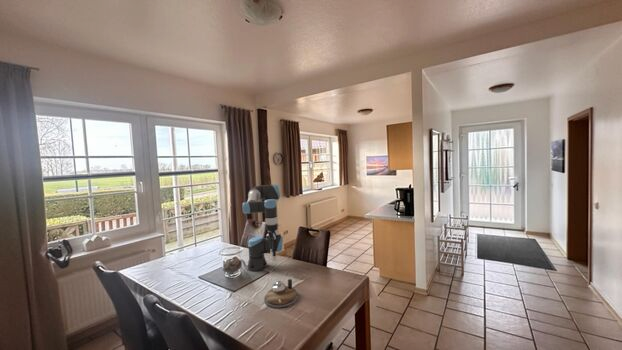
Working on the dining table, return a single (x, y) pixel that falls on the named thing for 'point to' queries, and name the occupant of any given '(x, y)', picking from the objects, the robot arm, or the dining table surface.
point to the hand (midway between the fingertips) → (273, 259)
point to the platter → (282, 295)
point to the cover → (279, 287)
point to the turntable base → (281, 305)
